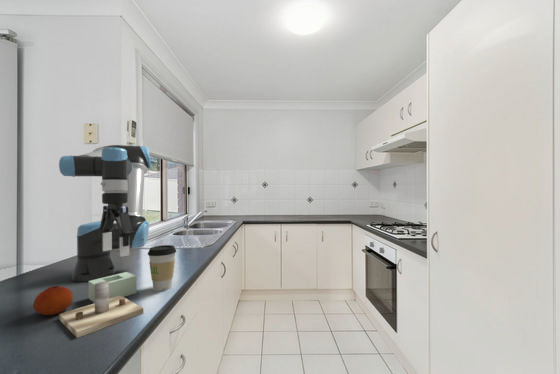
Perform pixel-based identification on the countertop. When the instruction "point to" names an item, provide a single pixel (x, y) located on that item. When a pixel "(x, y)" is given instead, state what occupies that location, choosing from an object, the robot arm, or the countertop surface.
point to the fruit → (53, 300)
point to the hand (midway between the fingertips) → (115, 253)
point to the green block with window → (116, 285)
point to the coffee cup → (162, 266)
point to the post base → (99, 318)
